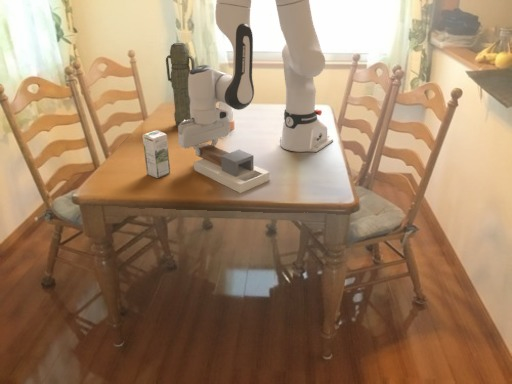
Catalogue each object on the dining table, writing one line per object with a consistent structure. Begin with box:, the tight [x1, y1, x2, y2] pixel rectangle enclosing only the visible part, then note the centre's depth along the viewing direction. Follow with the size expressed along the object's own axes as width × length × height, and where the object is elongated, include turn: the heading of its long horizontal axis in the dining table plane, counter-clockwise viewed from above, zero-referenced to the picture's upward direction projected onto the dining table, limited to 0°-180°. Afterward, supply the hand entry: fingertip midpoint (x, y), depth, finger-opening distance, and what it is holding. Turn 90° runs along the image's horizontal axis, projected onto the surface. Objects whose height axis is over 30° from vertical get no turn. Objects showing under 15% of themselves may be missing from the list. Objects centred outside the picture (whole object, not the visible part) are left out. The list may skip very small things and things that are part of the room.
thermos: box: [165, 42, 196, 129], centre depth 182 cm, size 9×12×35 cm
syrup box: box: [142, 130, 171, 179], centre depth 142 cm, size 6×6×14 cm
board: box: [193, 149, 271, 194], centre depth 142 cm, size 13×24×8 cm, turn 44°
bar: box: [198, 142, 229, 167], centre depth 148 cm, size 4×15×4 cm, turn 44°
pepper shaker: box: [218, 102, 235, 131], centre depth 182 cm, size 7×7×19 cm
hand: (205, 153), depth 151 cm, fingers closed on bar, 4 cm apart
